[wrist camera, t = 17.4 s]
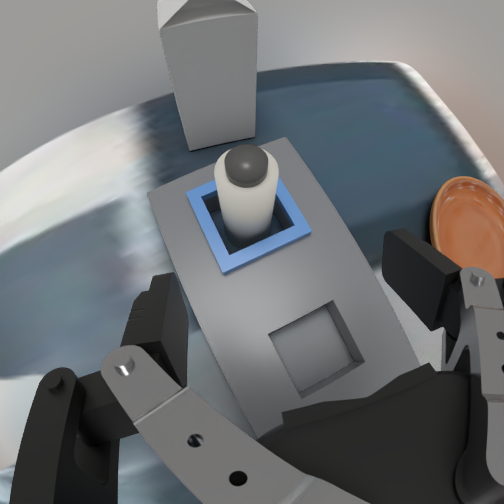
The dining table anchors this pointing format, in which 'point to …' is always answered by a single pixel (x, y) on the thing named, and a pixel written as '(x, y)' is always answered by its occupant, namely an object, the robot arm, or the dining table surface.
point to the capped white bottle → (246, 193)
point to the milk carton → (211, 67)
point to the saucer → (469, 224)
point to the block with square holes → (280, 290)
